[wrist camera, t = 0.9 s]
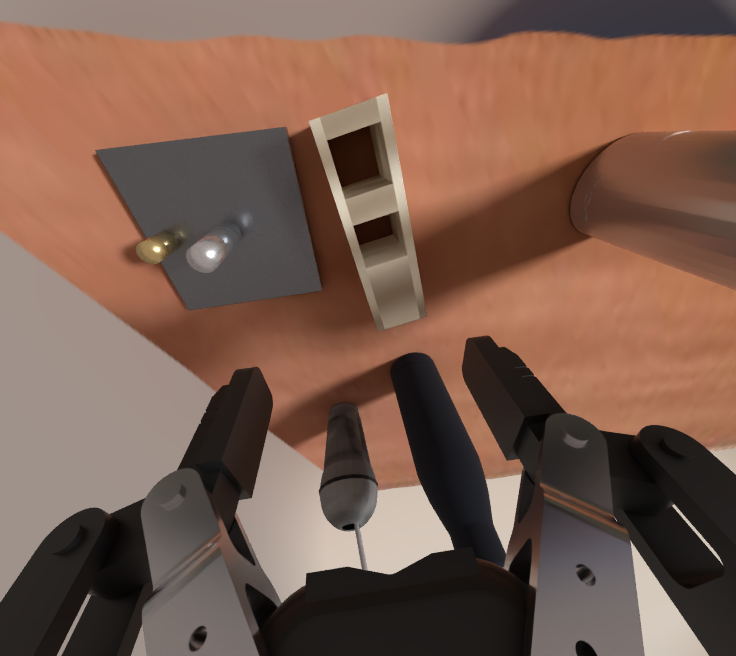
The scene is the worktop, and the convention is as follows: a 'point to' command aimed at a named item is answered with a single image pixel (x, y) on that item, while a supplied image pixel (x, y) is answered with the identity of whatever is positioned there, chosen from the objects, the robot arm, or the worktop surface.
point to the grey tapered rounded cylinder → (347, 474)
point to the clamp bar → (376, 214)
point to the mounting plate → (220, 215)
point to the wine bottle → (445, 457)
